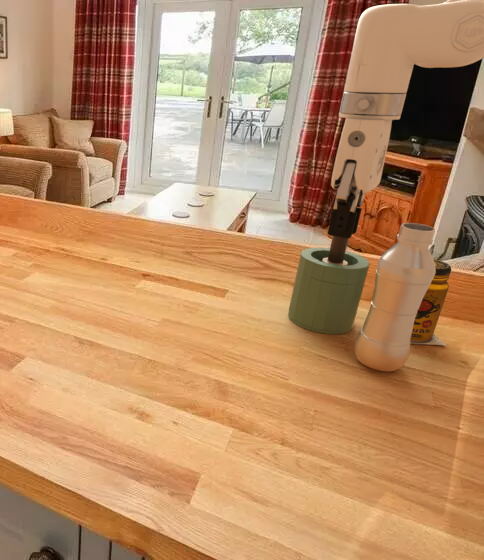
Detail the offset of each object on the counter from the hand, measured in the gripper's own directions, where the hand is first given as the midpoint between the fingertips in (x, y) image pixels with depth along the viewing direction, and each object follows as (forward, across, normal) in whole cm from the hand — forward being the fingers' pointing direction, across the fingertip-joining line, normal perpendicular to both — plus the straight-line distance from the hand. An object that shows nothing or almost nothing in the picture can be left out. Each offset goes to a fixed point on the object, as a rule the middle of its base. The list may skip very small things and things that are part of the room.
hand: (341, 233), depth 75 cm
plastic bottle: (+15, -9, -10) cm, 20 cm away
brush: (+10, 0, 0) cm, 10 cm away
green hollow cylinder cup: (+15, 0, 0) cm, 15 cm away
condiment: (+15, +5, -11) cm, 20 cm away
